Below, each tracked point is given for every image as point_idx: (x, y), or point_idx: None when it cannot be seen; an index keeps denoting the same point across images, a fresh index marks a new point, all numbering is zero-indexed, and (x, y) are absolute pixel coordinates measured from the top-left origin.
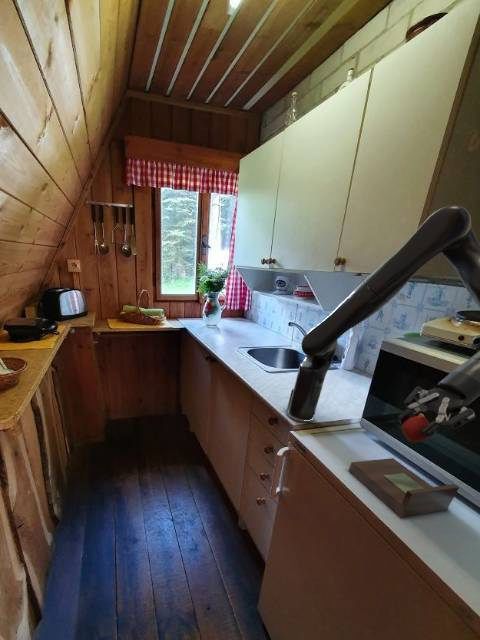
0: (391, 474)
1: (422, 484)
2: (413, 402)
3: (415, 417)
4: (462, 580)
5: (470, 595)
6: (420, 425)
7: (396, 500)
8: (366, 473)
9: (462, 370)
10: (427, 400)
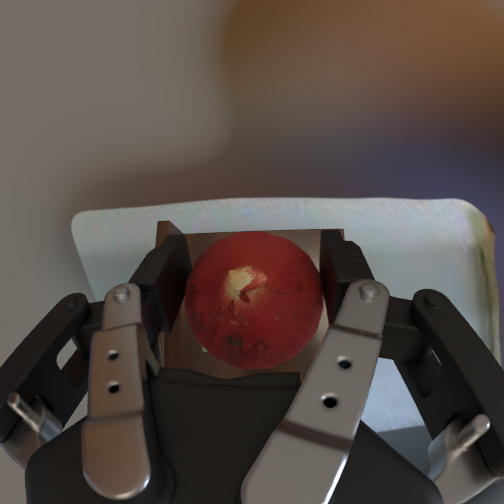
0: None
1: (229, 365)
2: (426, 387)
3: (265, 261)
4: (82, 235)
5: (71, 224)
6: (208, 253)
7: (195, 233)
8: (293, 234)
9: None
10: (307, 378)
